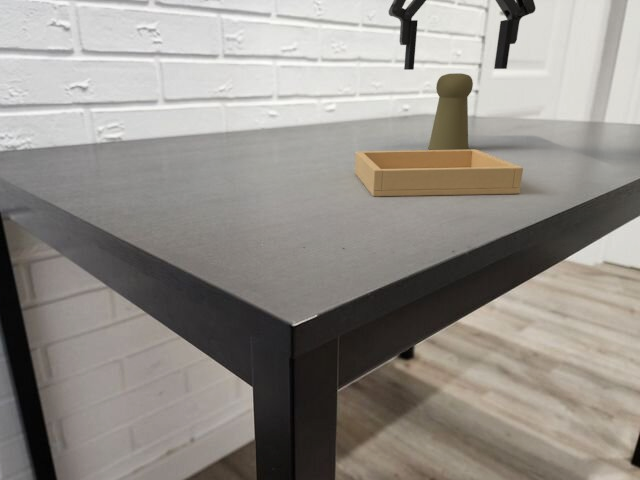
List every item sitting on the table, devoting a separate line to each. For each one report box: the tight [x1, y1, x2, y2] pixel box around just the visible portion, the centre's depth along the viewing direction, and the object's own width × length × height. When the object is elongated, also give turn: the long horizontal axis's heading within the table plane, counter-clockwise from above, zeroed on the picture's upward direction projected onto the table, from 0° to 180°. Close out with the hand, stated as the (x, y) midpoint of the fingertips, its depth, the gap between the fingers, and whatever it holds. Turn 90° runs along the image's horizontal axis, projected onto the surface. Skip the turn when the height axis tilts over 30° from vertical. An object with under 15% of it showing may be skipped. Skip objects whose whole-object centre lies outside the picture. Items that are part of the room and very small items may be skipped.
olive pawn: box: [427, 72, 474, 150], centre depth 78 cm, size 6×6×11 cm
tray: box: [354, 148, 524, 197], centre depth 56 cm, size 15×13×3 cm
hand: (454, 69), depth 76 cm, fingers open, 13 cm apart
